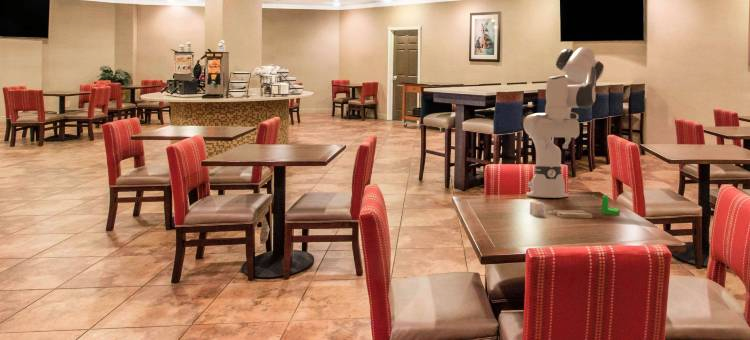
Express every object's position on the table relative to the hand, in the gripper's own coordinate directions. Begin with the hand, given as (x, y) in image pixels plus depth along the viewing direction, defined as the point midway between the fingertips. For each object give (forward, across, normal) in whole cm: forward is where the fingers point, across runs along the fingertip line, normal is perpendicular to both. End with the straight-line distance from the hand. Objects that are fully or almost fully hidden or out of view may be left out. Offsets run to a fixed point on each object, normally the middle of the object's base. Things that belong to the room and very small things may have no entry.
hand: (555, 148), depth 253 cm
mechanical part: (+28, +25, -4) cm, 37 cm away
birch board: (+27, +4, -6) cm, 28 cm away
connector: (+27, -9, -2) cm, 29 cm away
